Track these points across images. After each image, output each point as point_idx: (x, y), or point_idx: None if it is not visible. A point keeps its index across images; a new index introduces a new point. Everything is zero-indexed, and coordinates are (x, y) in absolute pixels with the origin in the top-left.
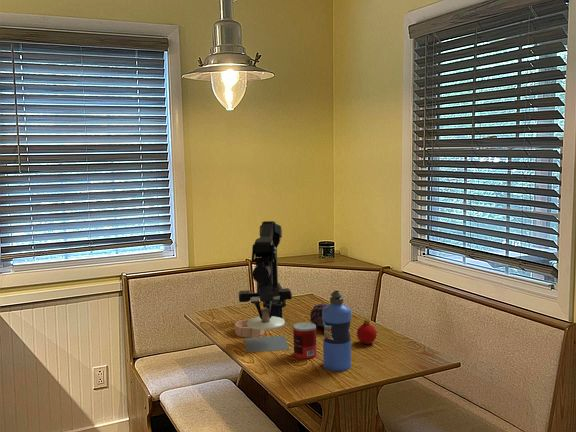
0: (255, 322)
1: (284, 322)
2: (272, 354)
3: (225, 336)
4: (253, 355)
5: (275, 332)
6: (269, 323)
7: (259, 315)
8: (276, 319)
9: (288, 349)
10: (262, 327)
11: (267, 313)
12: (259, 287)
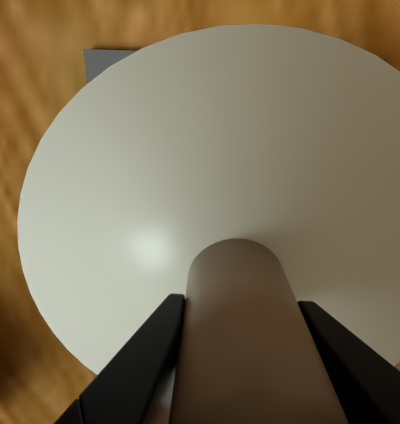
0: (355, 282)
1: (22, 221)
2: (212, 3)
3: None
4: (348, 15)
5: None
6: (202, 208)
7: (354, 336)
8: (111, 317)
9: (91, 52)
10: (338, 47)
11: (224, 333)
12: None
